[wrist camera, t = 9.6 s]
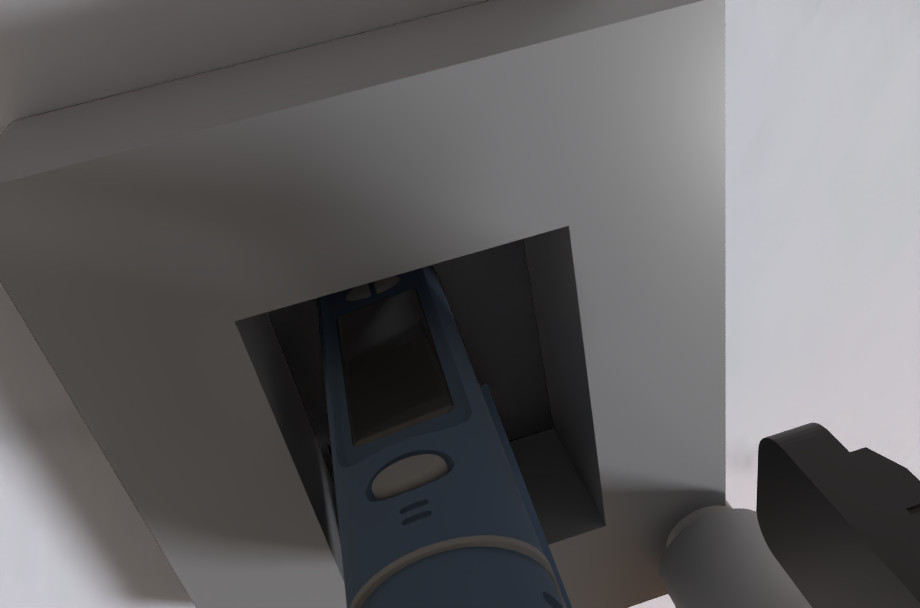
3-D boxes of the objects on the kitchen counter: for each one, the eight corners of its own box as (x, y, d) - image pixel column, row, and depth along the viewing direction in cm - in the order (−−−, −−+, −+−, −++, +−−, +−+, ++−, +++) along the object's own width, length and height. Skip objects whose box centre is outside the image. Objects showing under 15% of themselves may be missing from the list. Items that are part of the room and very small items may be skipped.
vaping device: (425, 223, 14) (809, 1180, 4) (499, 426, 17) (834, 1287, 7) (291, 272, 14) (345, 1364, 4) (389, 468, 17) (562, 1395, 7)
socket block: (12, 121, 12) (-56, 203, 9) (647, -40, 13) (754, -9, 10) (265, 608, 18) (269, 739, 16) (673, 474, 19) (743, 576, 17)
